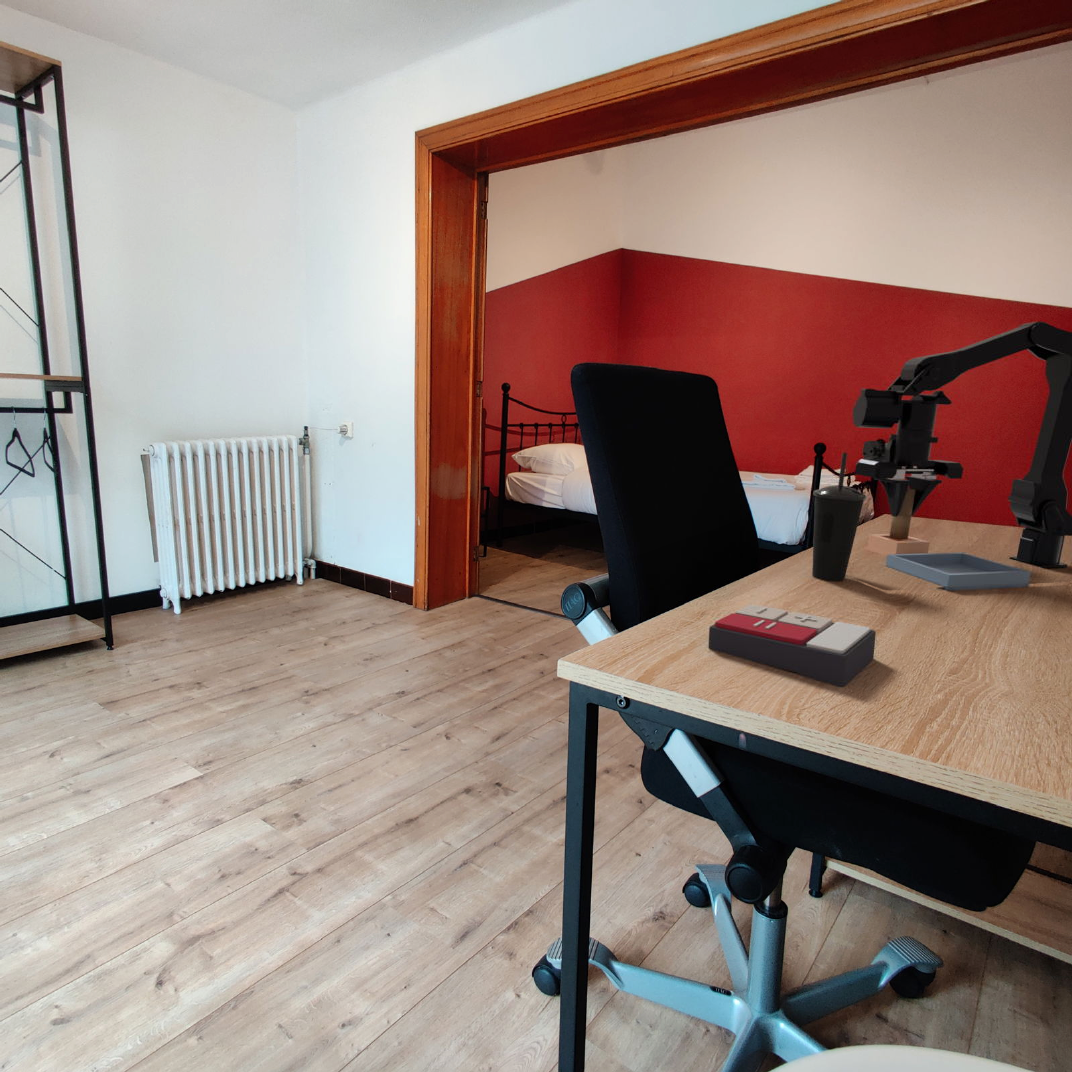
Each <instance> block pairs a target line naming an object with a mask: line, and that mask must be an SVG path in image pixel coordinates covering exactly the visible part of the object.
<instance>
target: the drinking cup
mask: <svg viewBox="0 0 1072 1072" xmlns="http://www.w3.org/2000/svg"><path fill="white" fill-rule="evenodd" d="M847 460H848V452H842V454H841V463H840V468H839V469H840V471H839V478H838V483H837V484H838V485H835V484H834V485H827V486H824V487H821V488H819V489H815V490H814V491H813V493H812V494H813V496H814V515H813V539H812V540H813V542H812V544H813V545H812V546H813V547H812V571H811V572H812V577H813V578H816V579H819V580H823V581H828V582H842V581H844V580H845V579H846V574H847V570H848V566H849V563H850V558H851V554H852V550H853V545H854V542H855V539H856V538H855V537H856V533H857V529H858V525H859V521H860V516H861V513H862V508H863V504H864V501H865V500H866V499H867V495H866V494H863V493H862V492H861V491H859V490H858V489H855V488H853V487H850V486H848V485H847V486H846V485H844V481H845V476H846V475H845V473H846V467H847Z"/></svg>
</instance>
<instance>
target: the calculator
mask: <svg viewBox="0 0 1072 1072" xmlns="http://www.w3.org/2000/svg"><path fill="white" fill-rule="evenodd" d="M788 612H789V611H788V610H786V609H783V608H775V607H770V606H765V605H760V604H754V603H751V604H747V605H746V606H743V607H742V608H739V609H738V610H736V611H735V613H729V614H727V615H726V616H723V617H722V618H719V619H718V620H716V621H715V623H714V624H712V625H710V626H709V628H708V629H709V630H708V645H707V646H708V647H707V648H708V649H709V650H712V651H715V652H719V653H723V654H726V655H729V656H733V657H736V658H739V659H741V660H746V661H750V662H754V663H755V664H756V663H757V664H761V665H763V666H764V665H765V666H768V667H772V668H777V669H780V670H785V671H788V672H792V673H796V674H798V675H800V676H802V677H804V678H807V679H812V680H815V681H817V682H822V683H825V684H827V685H832V686H836V687H838V688H845V687H846V686H847V685H848V684H850V682H852V681H853V679H855V678H856V677H857V676H858V675H859V674H861V672H862V671H863V670H865V669H866V667H867V666H869V665H870V663H871V662H872V661H874V656H875V647H876V646H875V645H876V633H877V631H875V630H874V629H872V628H871V627H870V626H869V627H868V626H863V625H858V624H852V623H847V622H842V621H836V622H833V618H830V617H825V616H818V615H813V614H807V613H803V612H797V611H792V612H790V613H788Z"/></svg>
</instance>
